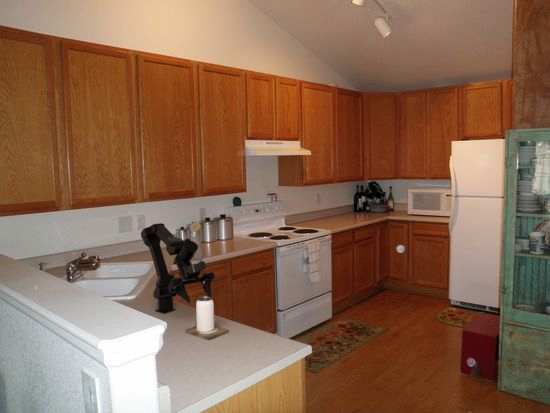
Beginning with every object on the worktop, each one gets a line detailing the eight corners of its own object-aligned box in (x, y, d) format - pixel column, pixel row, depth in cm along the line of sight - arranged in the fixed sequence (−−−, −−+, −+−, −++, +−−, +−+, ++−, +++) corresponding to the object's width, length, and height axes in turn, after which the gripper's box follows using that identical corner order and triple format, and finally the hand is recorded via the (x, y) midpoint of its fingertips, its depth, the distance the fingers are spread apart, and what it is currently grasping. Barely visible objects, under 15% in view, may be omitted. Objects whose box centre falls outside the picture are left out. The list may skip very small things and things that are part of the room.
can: (211, 325, 172) (211, 295, 171) (216, 331, 166) (215, 299, 165) (195, 327, 170) (194, 297, 169) (198, 333, 164) (198, 302, 163)
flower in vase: (183, 256, 317) (182, 221, 315) (195, 253, 326) (194, 219, 323) (194, 258, 309) (194, 222, 306) (207, 255, 317) (206, 221, 315)
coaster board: (185, 332, 168) (185, 329, 168) (205, 325, 176) (205, 322, 176) (209, 340, 160) (209, 337, 160) (228, 332, 168) (228, 329, 168)
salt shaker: (193, 259, 304) (192, 241, 302) (201, 259, 306) (200, 240, 305) (194, 261, 298) (194, 242, 297) (203, 260, 300) (202, 241, 299)
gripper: (170, 258, 167) (185, 293, 160) (212, 251, 179) (228, 284, 172) (161, 274, 174) (175, 309, 166) (202, 267, 186) (217, 299, 179)
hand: (200, 299), depth 171 cm, fingers open, 9 cm apart
